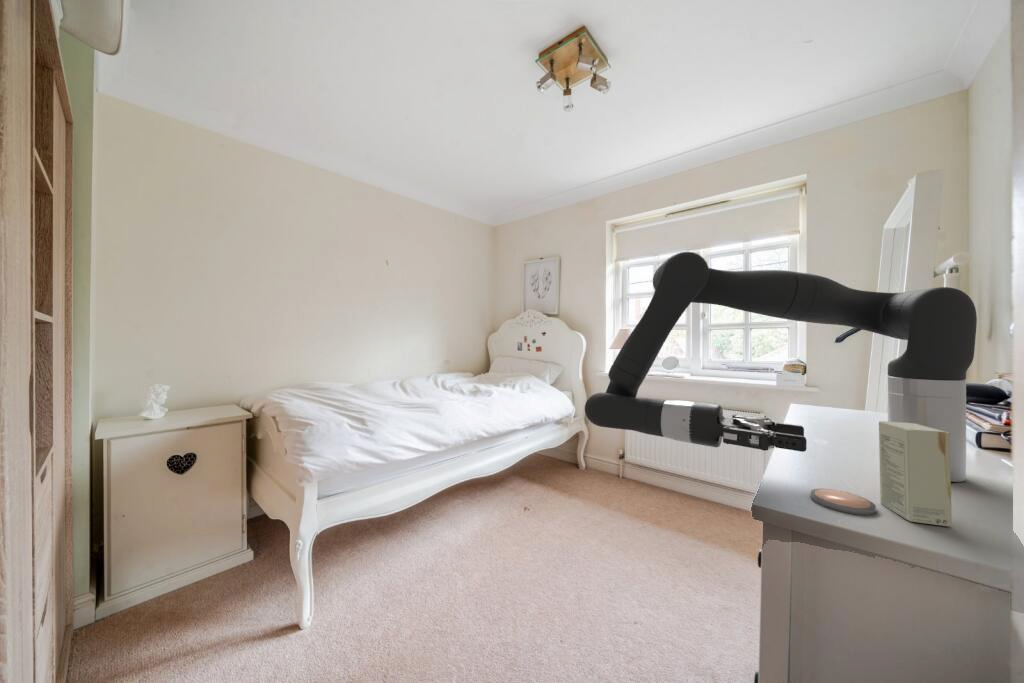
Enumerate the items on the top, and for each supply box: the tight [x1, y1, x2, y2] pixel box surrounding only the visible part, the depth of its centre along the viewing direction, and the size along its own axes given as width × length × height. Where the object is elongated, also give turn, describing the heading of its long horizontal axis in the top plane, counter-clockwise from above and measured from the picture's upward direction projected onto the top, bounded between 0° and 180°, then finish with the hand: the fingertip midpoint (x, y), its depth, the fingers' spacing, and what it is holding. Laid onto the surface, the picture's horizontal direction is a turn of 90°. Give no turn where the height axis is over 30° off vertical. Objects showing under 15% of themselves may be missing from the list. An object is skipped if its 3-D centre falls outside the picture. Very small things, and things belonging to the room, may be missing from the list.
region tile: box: [809, 488, 877, 516], centre depth 52 cm, size 7×7×1 cm
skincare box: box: [878, 420, 953, 528], centre depth 49 cm, size 6×4×12 cm
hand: (805, 438), depth 55 cm, fingers open, 8 cm apart
